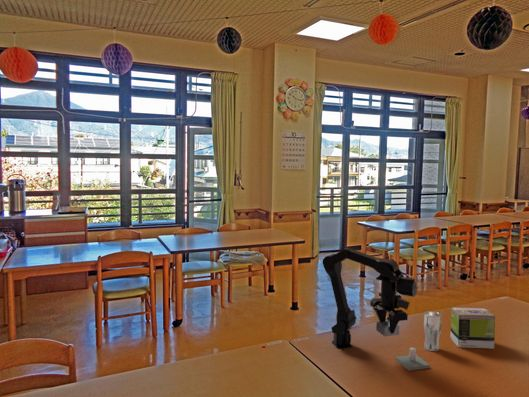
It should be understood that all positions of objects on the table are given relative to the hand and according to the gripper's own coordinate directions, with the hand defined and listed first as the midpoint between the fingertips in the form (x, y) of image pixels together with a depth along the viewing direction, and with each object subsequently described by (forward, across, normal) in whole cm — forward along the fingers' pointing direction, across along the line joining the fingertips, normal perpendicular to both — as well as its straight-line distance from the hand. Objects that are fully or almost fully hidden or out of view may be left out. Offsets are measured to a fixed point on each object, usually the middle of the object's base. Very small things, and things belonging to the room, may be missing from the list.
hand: (387, 329), depth 165 cm
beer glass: (+12, +4, -23) cm, 27 cm away
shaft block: (+12, -6, -7) cm, 15 cm away
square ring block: (+1, 0, 0) cm, 1 cm away
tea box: (+12, +4, -43) cm, 45 cm away
